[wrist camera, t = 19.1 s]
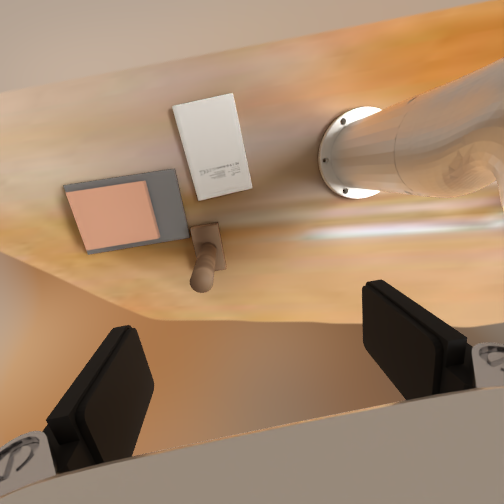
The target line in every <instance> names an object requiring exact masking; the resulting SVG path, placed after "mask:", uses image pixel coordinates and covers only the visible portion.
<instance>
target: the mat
mask: <svg viewBox="0 0 504 504" xmlns="http://www.w3.org/2000/svg"><path fill="white" fill-rule="evenodd" d="M138 181H146V184H147V188H148V192H149V196H150V199H151V203H152V207H153V211H154V215H155V218H156V222H157V226H158V230H159V233H160V237H159V238H158V239H152V240H146V241H141V242H135V243H129V244H123V245H117V246H111V247H105V248H99V249H93V250H87V253H88V254H94V253H100V252H107V251H113V250H119V249H125V248H131V247H137V246H143V245H149V244H155V243H161V242H167V241H173V240H179V239H185V238H190V234H189V229H188V225H187V221H186V216H185V212H184V207H183V203H182V199H181V194H180V190H179V185H178V181H177V176H176V172H175V169H168V170H162V171H155V172H148V173H142V174H135V175H128V176H122V177H115V178H109V179H102V180H95V181H89V182H82V183H75V184H69V185H63V186H64V189H65V192H73V191H79V190H86V189H92V188H99V187H106V186H112V185H119V184H125V183H132V182H138Z"/></svg>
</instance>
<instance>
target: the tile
mask: <svg viewBox="0 0 504 504" xmlns="http://www.w3.org/2000/svg"><path fill="white" fill-rule="evenodd" d="M66 195H67V198H68V201H69V204H70V207H71V209H72V212H73V215H74V218H75V220H76V223H77V226H78V229H79V231H80V234H81V237H82V240H83V243H84V245H85V248H86V251H87V250H93V249H99V248H105V247H111V246H117V245H123V244H129V243H135V242H141V241H146V240H152V239H158V238H159V237H160V233H159V230H158V226H157V222H156V218H155V215H154V211H153V207H152V203H151V199H150V196H149V192H148V188H147V184H146V181H138V182H132V183H125V184H119V185H112V186H106V187H99V188H92V189H86V190H79V191H73V192H66Z"/></svg>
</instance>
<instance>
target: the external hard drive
mask: <svg viewBox="0 0 504 504" xmlns="http://www.w3.org/2000/svg"><path fill="white" fill-rule="evenodd" d="M172 109H173V113H174V116H175V120H176V123H177V127H178V130H179V134H180V138H181V141H182V145H183V148H184V152H185V155H186V159H187V162H188V166H189V169H190V173H191V177H192V180H193V184H194V187H195V191H196V194H197V198H198V201H200V200H205V199H209V198H213V197H217V196H221V195H226V194H230V193H234V192H239V191H243V190H247V189H251V188H253V187H252V182H251V177H250V172H249V168H248V163H247V158H246V153H245V148H244V143H243V139H242V134H241V129H240V124H239V119H238V115H237V110H236V105H235V101H234V96H233V93H229V94H224V95H220V96H215V97H211V98H206V99H202V100H197V101H192V102H188V103H183V104H179V105H174V106H172Z"/></svg>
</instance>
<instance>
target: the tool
mask: <svg viewBox="0 0 504 504" xmlns="http://www.w3.org/2000/svg"><path fill="white" fill-rule="evenodd" d="M190 231H191V236H192V240H193V244H194V249H195V253H196V257H197V260H196V263H195V267H194V270H193V273H192V276H191V279H190V285H191V287H192V289H193V290H195V291H196V292H199V293H204V292H207V291H209V290H210V289H211V288H212V286H213V280H214V271H218V270H224V269H226V262H225V257H224V252H223V246H222V241H221V236H220V231H219V226H218V222H217V223H211V224H205V225H199V226H193V227H191V229H190Z"/></svg>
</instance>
